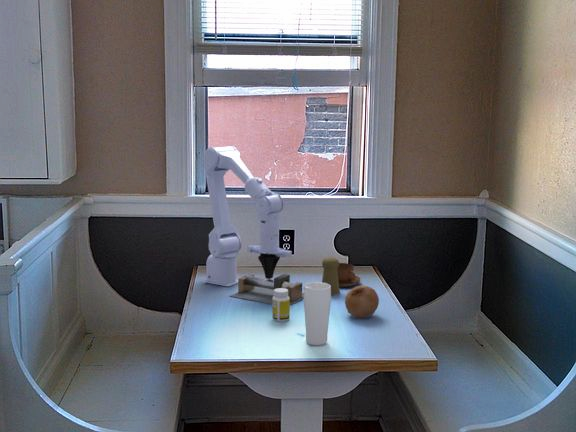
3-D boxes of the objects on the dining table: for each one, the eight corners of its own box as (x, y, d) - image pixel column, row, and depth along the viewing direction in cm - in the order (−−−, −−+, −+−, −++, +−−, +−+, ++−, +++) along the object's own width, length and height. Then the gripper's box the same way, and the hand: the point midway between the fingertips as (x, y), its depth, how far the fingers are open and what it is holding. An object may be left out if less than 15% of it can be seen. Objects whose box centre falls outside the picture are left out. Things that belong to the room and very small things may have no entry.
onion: (358, 331, 202) (352, 304, 196) (342, 312, 209) (335, 286, 204) (387, 316, 204) (382, 289, 198) (370, 298, 212) (365, 272, 206)
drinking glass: (301, 338, 187) (302, 282, 184) (328, 337, 188) (329, 281, 185) (304, 348, 180) (305, 289, 178) (331, 347, 181) (333, 289, 178)
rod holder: (238, 292, 225) (238, 277, 224) (249, 287, 230) (249, 272, 229) (291, 302, 216) (291, 286, 215) (302, 297, 221) (302, 281, 220)
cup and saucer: (366, 282, 239) (367, 264, 238) (349, 291, 229) (350, 272, 228) (334, 277, 245) (334, 259, 244) (316, 285, 235) (316, 267, 234)
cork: (340, 290, 230) (340, 256, 228) (339, 295, 224) (340, 260, 222) (320, 289, 230) (321, 255, 228) (319, 294, 225) (320, 260, 223)
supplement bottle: (291, 317, 203) (292, 288, 202) (286, 322, 199) (286, 293, 197) (275, 315, 205) (275, 286, 203) (269, 320, 200) (269, 291, 199)
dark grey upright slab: (273, 297, 219) (273, 278, 218) (283, 292, 224) (284, 273, 223) (279, 298, 218) (279, 279, 217) (289, 293, 223) (289, 274, 222)
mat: (229, 296, 222) (229, 295, 222) (254, 285, 234) (254, 284, 234) (286, 307, 212) (286, 306, 212) (309, 295, 224) (309, 294, 224)
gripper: (242, 234, 220) (242, 277, 222) (283, 239, 213) (283, 284, 215) (254, 229, 226) (254, 272, 228) (295, 235, 219) (294, 279, 221)
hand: (269, 278), depth 222 cm, fingers closed
